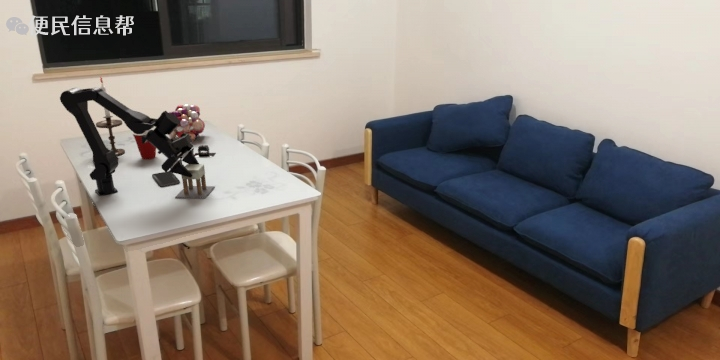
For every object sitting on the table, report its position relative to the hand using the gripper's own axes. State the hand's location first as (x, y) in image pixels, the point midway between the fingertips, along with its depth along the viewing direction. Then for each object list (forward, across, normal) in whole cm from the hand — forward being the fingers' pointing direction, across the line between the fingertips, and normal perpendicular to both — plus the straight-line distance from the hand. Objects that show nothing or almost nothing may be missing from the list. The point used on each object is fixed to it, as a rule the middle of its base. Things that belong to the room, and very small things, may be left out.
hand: (196, 172), depth 205 cm
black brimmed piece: (-3, +45, +16) cm, 48 cm away
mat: (+5, 0, +6) cm, 8 cm away
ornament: (-16, +71, +27) cm, 78 cm away
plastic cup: (-20, +41, +32) cm, 55 cm away
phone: (-6, +13, +19) cm, 24 cm away
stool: (+5, 0, +6) cm, 8 cm away
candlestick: (-33, +46, +45) cm, 72 cm away
